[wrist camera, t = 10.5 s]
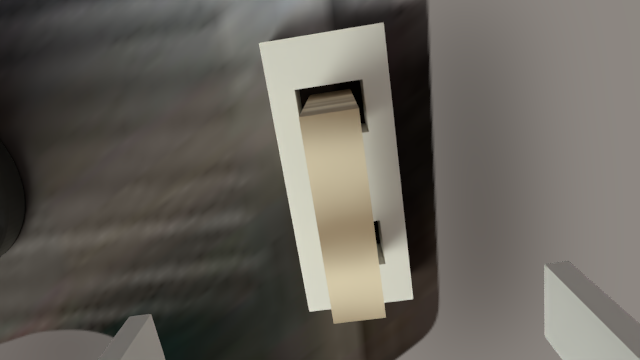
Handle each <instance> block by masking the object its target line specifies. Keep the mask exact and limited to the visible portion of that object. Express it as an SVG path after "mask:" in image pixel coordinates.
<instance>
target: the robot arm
mask: <svg viewBox="0 0 640 360" xmlns="http://www.w3.org/2000/svg"><path fill="white" fill-rule="evenodd" d="M24 212H25V198H24V191H23V185H22V182H21V178H20V175H19V172H18V170H17V168H16V165H15V163H14V161H13V159H12V158H11V156H10V154H9V152H8V151H7V149H6V148H5V147H4V145H3V144H2V143H1V141H0V257H1V256H2V255H3V254H4V253H5V252H6V251H7V250H8V249H9V248H10V247H11V246H12V244H13V243H14V242H15V240H16V238H17V236H18V234H19V232H20V230H21V227H22V223H23V219H24ZM544 299H545V300H544V313H545V314H544V316H545V319H544V320H545V337H546V339H547V340H548V341H549V343H550V344H551V345H552V347H553V348H554V349H555V351H556V352H557V353H558V354H559V356H560V357H561V359H562V360H640V324H639V323H638V322H637V321H636V320H635V319H634V318H633V317H632V316H630V315H629V314H628V313H627V312H626V311H625V310H624V309H622V308H621V307H620V306H619V305H618V304H617V303H616V302H615V301H613V300H612V299H611V298H610V297H609V296H608V295H607V294H605V293H604V292H603V291H602V290H601V289H600V288H599V287H598V286H597V285H595V284H594V283H593V282H592V281H591V280H590V279H589V278H587V277H586V276H585V275H584V274H583V273H582V272H581V271H580V270H578V269H577V268H576V267H575V266H574V265H573V264H572V263H571V262H569V261H564V262H556V263H548V264H544ZM98 360H165V357H164V354H163V351H162V348H161V344H160V341H159V338H158V335H157V332H156V328H155V325H154V322H153V319H152V316H151V314H147V315H139V316H131V317H129V318H128V319H127V321H126V322H125V323H124V325H123V326H122V327H121V329H120V330H119V331H118V333H117V334H116V335H115V337H114V338H113V340H112V341H111V342H110V344H109V345H108V346H107V348H106V349H105V350H104V352H103V353H102V355H101V356H100V357H99V358H98Z"/></svg>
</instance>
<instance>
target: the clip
mask: <svg viewBox="0 0 640 360" xmlns="http://www.w3.org/2000/svg"><path fill="white" fill-rule="evenodd" d="M299 122H300V128H301V134H302V140H303V145H304V151H305V157H306V163H307V169H308V175H309V181H310V186H311V192H312V198H313V204H314V210H315V216H316V222H317V228H318V233H319V239H320V245H321V251H322V257H323V263H324V269H325V275H326V280H327V286H328V292H329V298H330V304H331V310H332V316H333V321H334V323H343V322H351V321H360V320H368V319H377V318H386V314H385V306H384V298H383V291H382V283H381V275H380V268H379V260H378V252H377V244H376V237H375V229H374V221H373V213H372V206H371V198H370V190H369V182H368V175H367V167H366V159H365V152H364V144H363V136H362V128H361V121H360V113H359V107H358V105H357V103H356V101H355V98H354V96H353V94H352V92H351V90H350V89H345V90H338V91H332V92H326V93H319V94H313V95H310V96H309V98H308V100H307V102H306V104H305V106H304V108H303V110H302V112H301V114H300V116H299Z"/></svg>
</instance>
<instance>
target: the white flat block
mask: <svg viewBox="0 0 640 360" xmlns="http://www.w3.org/2000/svg"><path fill="white" fill-rule="evenodd" d="M259 46H260V51H261V57H262V62H263V67H264V73H265V78H266V83H267V89H268V94H269V99H270V105H271V110H272V115H273V121H274V126H275V131H276V137H277V142H278V147H279V153H280V158H281V163H282V169H283V174H284V179H285V185H286V190H287V195H288V201H289V206H290V211H291V217H292V222H293V227H294V233H295V238H296V243H297V249H298V254H299V259H300V265H301V270H302V275H303V281H304V286H305V291H306V296H307V302H308V307H309V312H310V311H319V310H327V309H331V304H330V298H329V292H328V286H327V280H326V275H325V269H324V263H323V257H322V251H321V245H320V239H319V233H318V228H317V222H316V216H315V210H314V204H313V198H312V192H311V186H310V181H309V175H308V169H307V163H306V157H305V151H304V145H303V140H302V134H301V128H300V122H299V116H300V114H301V112H302V104H301V98H300V92H299V89H304V88H310V87H316V86H323V85H329V84H336V83H342V82H348V81H355V80H360V86H361V94H362V102H363V110H364V118H365V123H364V124H361V128H362V136H363V144H364V152H365V159H366V167H367V175H368V182H369V190H370V198H371V206H372V213H373V221H378V229H379V236H380V244H377V252H378V260H379V268H380V275H381V283H382V291H383V298H384V303H385V302H394V301H402V300H411V299H413V292H412V283H411V274H410V264H409V255H408V246H407V236H406V227H405V217H404V208H403V199H402V189H401V180H400V171H399V161H398V152H397V143H396V133H395V124H394V114H393V105H392V96H391V86H390V77H389V68H388V58H387V49H386V40H385V30H384V22H383V23H377V24H371V25H365V26H359V27H353V28H347V29H341V30H335V31H329V32H323V33H317V34H311V35H305V36H299V37H293V38H287V39H281V40H275V41H269V42H263V43H259Z"/></svg>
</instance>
